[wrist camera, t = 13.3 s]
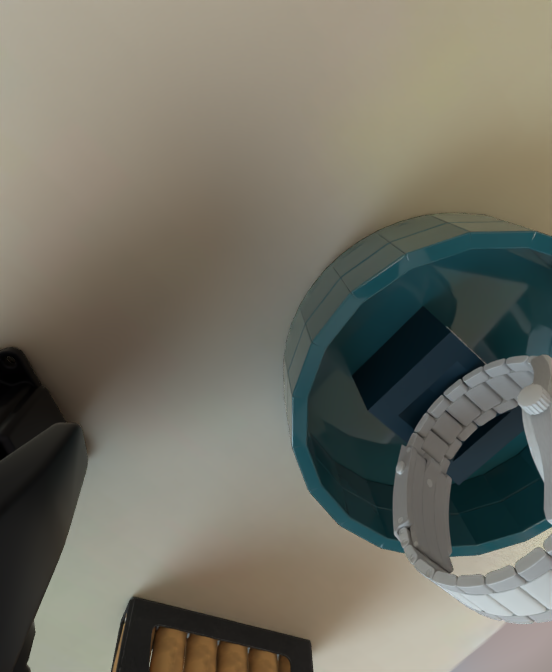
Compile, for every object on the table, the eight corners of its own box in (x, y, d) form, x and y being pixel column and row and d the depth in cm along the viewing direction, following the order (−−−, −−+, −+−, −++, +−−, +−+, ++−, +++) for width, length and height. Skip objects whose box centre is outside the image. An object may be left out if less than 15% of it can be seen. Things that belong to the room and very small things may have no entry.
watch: (536, 351, 23) (779, 526, 12) (405, 467, 24) (522, 704, 14) (456, 270, 21) (658, 394, 11) (322, 401, 23) (386, 613, 13)
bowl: (330, 521, 26) (347, 594, 22) (239, 275, 21) (239, 309, 17) (594, 441, 25) (663, 501, 21) (564, 165, 20) (647, 172, 16)
